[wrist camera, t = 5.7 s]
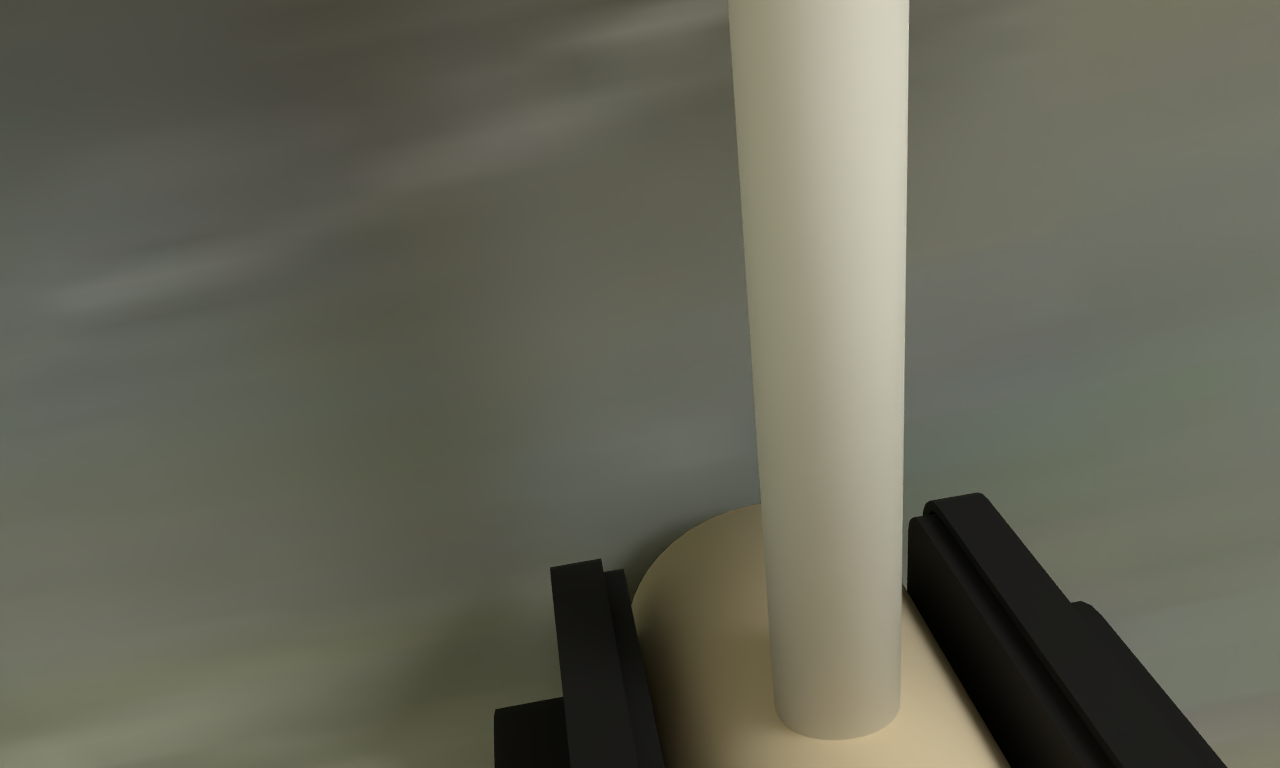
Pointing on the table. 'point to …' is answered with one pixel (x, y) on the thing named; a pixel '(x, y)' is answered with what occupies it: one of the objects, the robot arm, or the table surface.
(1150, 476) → the table surface
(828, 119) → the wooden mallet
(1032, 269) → the table surface
